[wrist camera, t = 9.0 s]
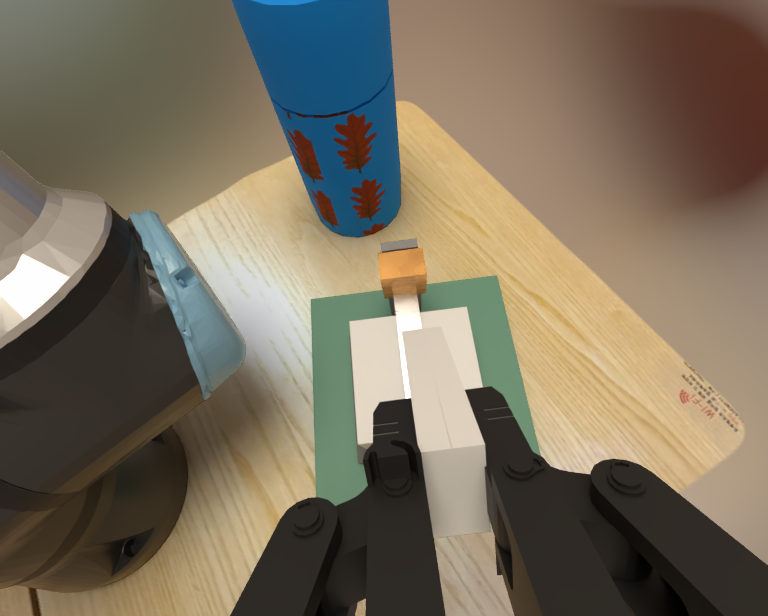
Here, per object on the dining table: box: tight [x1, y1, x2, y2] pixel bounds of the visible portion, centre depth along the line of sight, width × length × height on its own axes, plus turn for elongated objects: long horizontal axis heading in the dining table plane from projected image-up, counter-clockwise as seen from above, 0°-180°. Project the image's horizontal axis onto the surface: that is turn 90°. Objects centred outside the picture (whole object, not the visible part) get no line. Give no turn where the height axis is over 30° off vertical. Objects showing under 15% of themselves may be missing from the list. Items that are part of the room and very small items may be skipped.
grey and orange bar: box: [378, 248, 427, 398], centre depth 30 cm, size 4×16×4 cm, turn 5°
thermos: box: [232, 0, 401, 237], centre depth 37 cm, size 11×11×25 cm
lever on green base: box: [311, 239, 541, 506], centre depth 34 cm, size 20×22×11 cm
